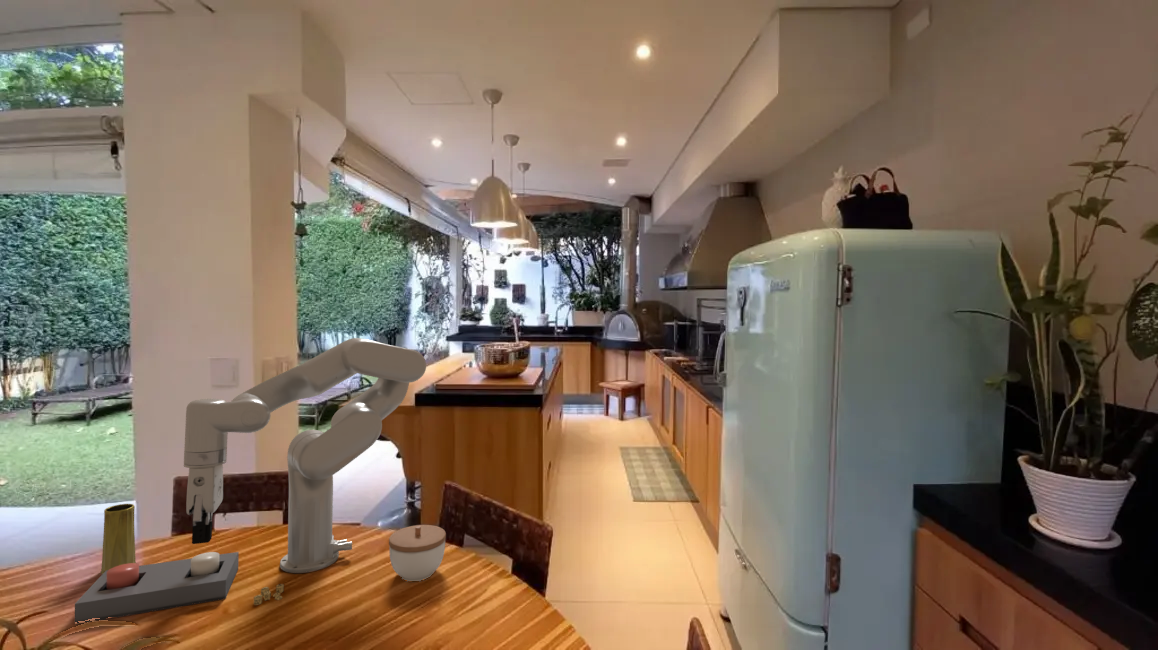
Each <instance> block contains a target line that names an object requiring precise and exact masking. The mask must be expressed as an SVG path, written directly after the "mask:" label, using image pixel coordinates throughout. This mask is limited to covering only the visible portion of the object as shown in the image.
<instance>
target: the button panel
mask: <svg viewBox="0 0 1158 650" xmlns="http://www.w3.org/2000/svg"><path fill="white" fill-rule="evenodd" d="M239 554H240V552H239V551H234V552H230V553H229V552H228V553H227V552H226V553H221V554H220V553H219V571H218V572H216V573H214V574H208V575H202V576H195V577H192V576H191V559H192V558H193V557H191V558H186V559H178V560H171V561H164V562H157V563H151V564H150V563H149V564H143V565H139V582H138V583H137V584H135V585H133V586H130V587H123V588H117V589H110V590H107V589H106V587H107V571H108V570H106V571H105V572H104V573H103V574H102V573H101V575H100V577H99V578H97V579H96V581H95V582H94V583H93V584H91V586H90V587H89V588H88V590H86V591H85V592H84V593H83V594H82V595H81V596H80V598H79V599H78V600H77V601H76V602H75V603H74V623H75V622H77V623H79V622H78V621H85V620H88V619H92V618H100V619H95V620H100V621H104V620H107V619H106V618H108V617H117V618H123V617H127V616H133V615H139V614H144V613H151V612H150V611H152V612H158V611H162V610H169V609H174V608H182V607H186V606H193V605H198V604H203V603H209V602H216V601H222V600H227V597H228V594H229V592H230V590H231V587H232V584H233V582H234V580H235V578H236V575H237V573H238V570H239ZM89 621H90V620H89ZM89 621H85V622H88V623H90V622H89Z"/></svg>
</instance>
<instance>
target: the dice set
mask: <svg viewBox="0 0 1158 650" xmlns="http://www.w3.org/2000/svg"><path fill="white" fill-rule="evenodd" d="M284 588H285V585H284V583H279V584H277V585H275V593H274V594H273V595H272V594H271V593H272V592H271V591H270V587H269V586H265V587H262V588H261V589H260V594H258V595H255V596H254V597H253V605H254V606H258V605H262V603H263V600H264V601H270V600H271V597H272V598H274V600H276V601H280V600H282V599H283V596H282V595H281V594H282V593H283V592H284V591H285V589H284Z"/></svg>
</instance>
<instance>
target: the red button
mask: <svg viewBox="0 0 1158 650" xmlns="http://www.w3.org/2000/svg"><path fill="white" fill-rule="evenodd" d="M139 566H140V564H139V563H137V562H136V563H128V564H123V565H119V566H116V567H113V568H111V569H109V570H108V571H107V587H106V589H107V590H110V589H117V588H123V587H130V586H133V585H135V584H137V583H138V582H139Z"/></svg>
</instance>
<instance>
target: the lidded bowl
mask: <svg viewBox="0 0 1158 650" xmlns="http://www.w3.org/2000/svg"><path fill="white" fill-rule="evenodd" d="M446 538H447V533H446V531H445V529H443V528H442V527H440V526H437V525H431V524H416V525H411V526H406V527H403V528H400V529H397V530H396V531H394V532H393V533H392V534H391V535H390V536H389V538H388V545H389V548H388V549H389V560H390V565H391V568H392V570H394V572H395V573H396V574H397V575H398V576H400V578H401V577H402V578H401V580H403V579H404V580H407V581H406V582H408V581H419V582H422V581H421V580H423V579H426V578H428V577H430V576H431V575H432V574H433V575H434V573H435V572H436V571H437V570H438V569H439V567H440V565H441V563H442V561H443V558H444V555H445V549H446ZM433 575H432V576H433ZM432 576H431V577H432ZM431 577H430V578H431ZM428 579H429V578H428ZM404 580H403V581H404ZM426 580H427V579H426ZM423 581H424V580H423Z"/></svg>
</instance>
